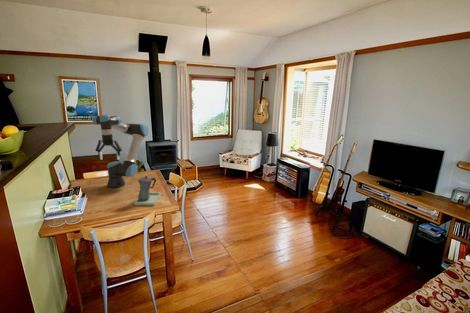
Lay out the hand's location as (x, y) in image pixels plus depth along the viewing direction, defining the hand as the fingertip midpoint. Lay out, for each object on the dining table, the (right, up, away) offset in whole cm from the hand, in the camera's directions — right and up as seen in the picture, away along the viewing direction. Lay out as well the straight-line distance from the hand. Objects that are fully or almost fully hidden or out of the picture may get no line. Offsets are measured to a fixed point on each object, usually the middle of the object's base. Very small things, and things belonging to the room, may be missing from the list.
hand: (109, 159), depth 199 cm
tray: (+31, -34, +2) cm, 46 cm away
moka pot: (+27, -33, +2) cm, 43 cm away
